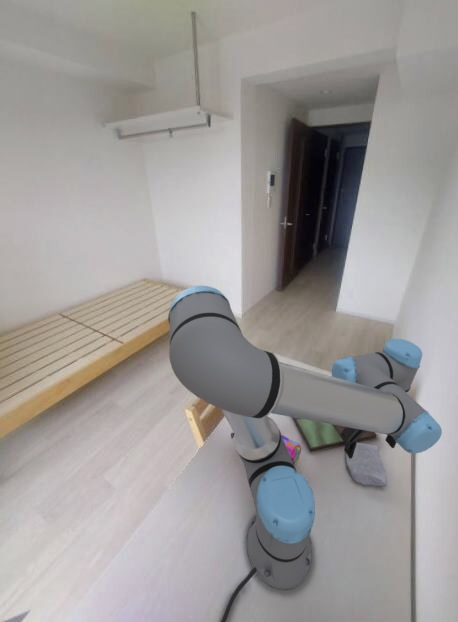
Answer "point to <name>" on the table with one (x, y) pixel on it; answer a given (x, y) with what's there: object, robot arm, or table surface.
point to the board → (324, 434)
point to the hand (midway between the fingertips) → (369, 448)
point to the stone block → (367, 465)
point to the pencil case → (289, 448)
